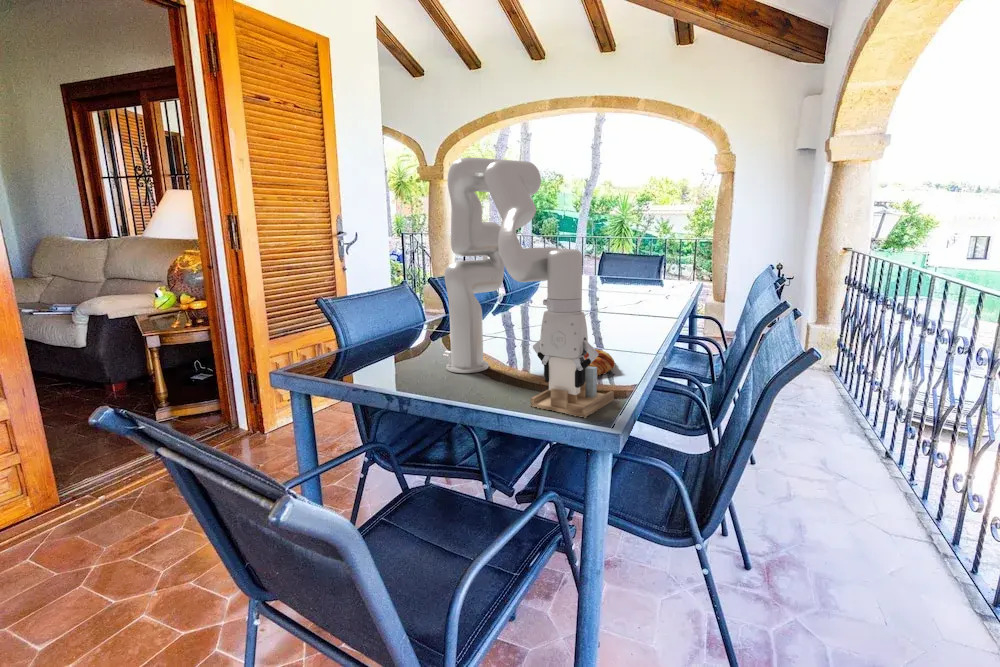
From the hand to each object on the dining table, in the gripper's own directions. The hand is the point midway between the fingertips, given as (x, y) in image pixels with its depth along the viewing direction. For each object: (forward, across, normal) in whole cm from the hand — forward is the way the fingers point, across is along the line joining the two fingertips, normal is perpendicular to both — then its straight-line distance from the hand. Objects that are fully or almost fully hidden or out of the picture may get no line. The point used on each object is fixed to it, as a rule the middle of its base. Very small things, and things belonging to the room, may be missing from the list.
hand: (564, 382), depth 119 cm
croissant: (+7, -8, +34) cm, 35 cm away
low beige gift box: (+2, 0, 0) cm, 2 cm away
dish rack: (+6, 0, +4) cm, 8 cm away
